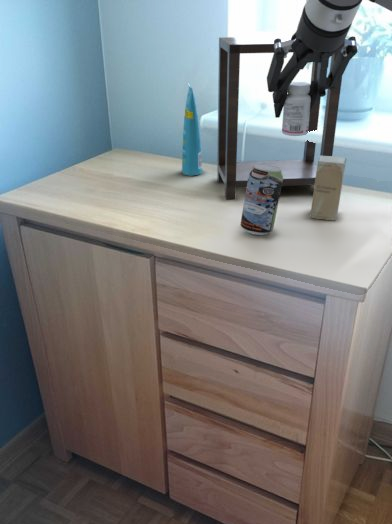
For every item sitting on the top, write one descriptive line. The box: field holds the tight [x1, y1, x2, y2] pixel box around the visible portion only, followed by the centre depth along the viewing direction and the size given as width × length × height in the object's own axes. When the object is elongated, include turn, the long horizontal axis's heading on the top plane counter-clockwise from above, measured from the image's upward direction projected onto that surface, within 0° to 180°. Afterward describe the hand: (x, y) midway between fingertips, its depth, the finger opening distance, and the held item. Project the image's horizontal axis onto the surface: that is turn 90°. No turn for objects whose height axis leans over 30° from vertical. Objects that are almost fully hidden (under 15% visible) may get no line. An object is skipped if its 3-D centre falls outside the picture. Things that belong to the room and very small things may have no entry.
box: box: [309, 155, 348, 221], centre depth 107 cm, size 5×4×11 cm
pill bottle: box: [281, 81, 311, 137], centre depth 101 cm, size 5×5×8 cm
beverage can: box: [240, 164, 283, 236], centre depth 100 cm, size 6×7×12 cm
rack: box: [216, 35, 343, 201], centre depth 117 cm, size 14×22×29 cm, turn 96°
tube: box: [181, 83, 203, 177], centre depth 129 cm, size 7×5×19 cm, turn 12°
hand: (290, 110), depth 104 cm, fingers closed on pill bottle, 5 cm apart
